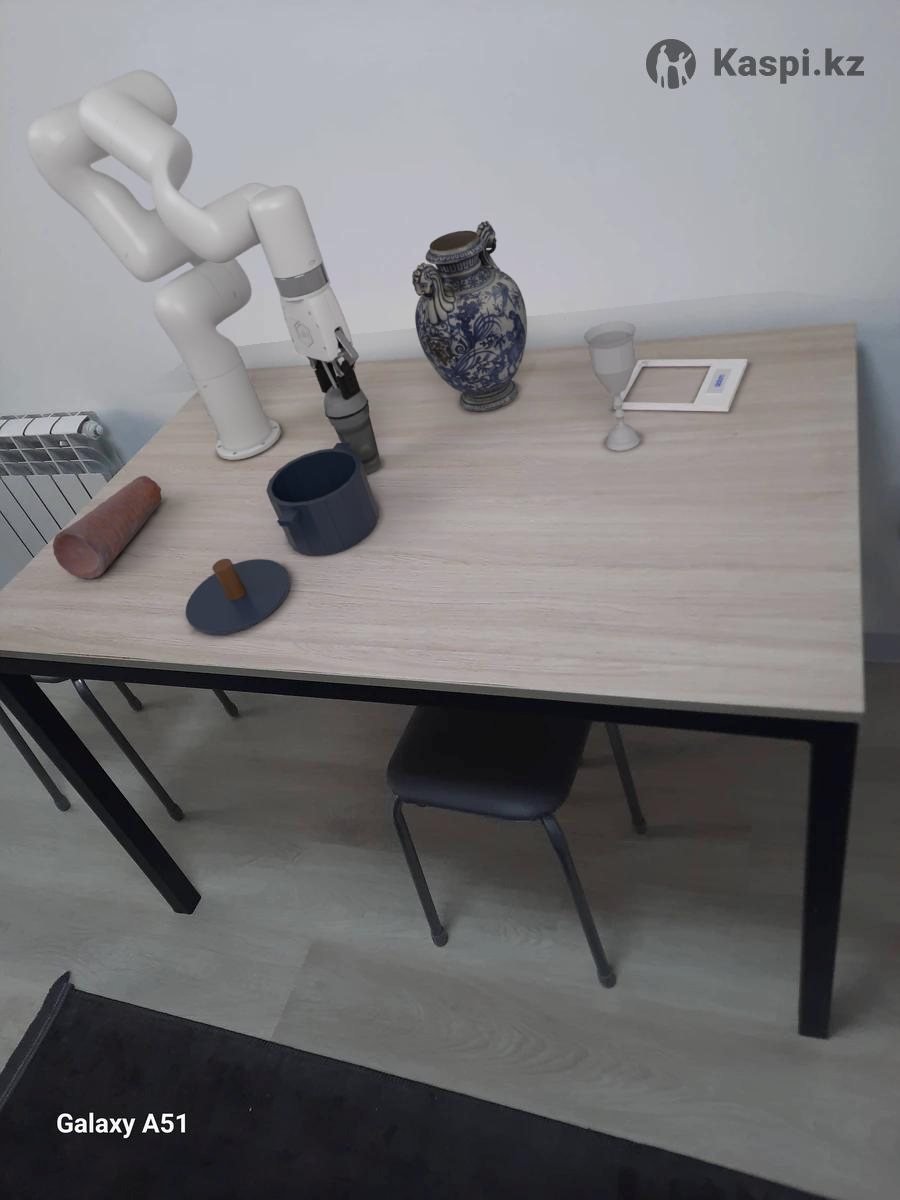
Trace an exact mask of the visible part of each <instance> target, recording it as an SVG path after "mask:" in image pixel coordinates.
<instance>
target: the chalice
mask: <svg viewBox="0 0 900 1200" xmlns="http://www.w3.org/2000/svg"><path fill="white" fill-rule="evenodd" d="M636 330H637V327H636V325H635V324H633V323H631V322H629V321H623V320H621V321H620V320H619V321H618V320H617V321H616V320H615V321H607V322H603V323H599V324H597V325H594V326H591V327H590V328H589V329H587V330H586V331H585V333H583V334H584V335H583V338H584V340H585V342H586V343H587V345H588V351H589V357H590V358H589V359H590V365H591V369H592V371H593V373H594V375H595V376H596V378H597V381H599V383H600V384H601V385H602V386H603V388H604V389H605V391H606V392H607V393H609V394H613V402H612V405H613V407H614V406H615V408H616V409H615V412H614V413H613V416H614V417H615V420H616V421H617V422H616V424H615V425H614V426H612V428H611V429H610V430H609V434H608V437H607V440H606V443H605V444H606V447H607V448H608V449H610V450H613V451H616V452H617V451H620V452H621V451H627V450H631V449H633V448H635V447H636V446H637V445H638V444H639V443H640V440H641V438H640V436H639V435H638V434H637V431H636V430H635V429H634V427H633V426H632V425H630V424H628V423H625V420H624V418H625V416H626V415H627V412H626V411H624V409H622V405H623V403H624V402H625V401H624V400H622V399H621V396H620V395H621V392H622V391H624V390H625V389H626V388H627V385H628V383H629V380H630V378H631V376H632V372H633V370H634V368H635V366H636V365H635V364H636V354H635V345H634V336H635V333H636Z"/></svg>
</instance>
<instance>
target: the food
mask: <svg viewBox="0 0 900 1200" xmlns="http://www.w3.org/2000/svg"><path fill="white" fill-rule="evenodd" d="M161 491H162V488H161V487H160V486H159V485H158V483H157V482H156V481H154V480H153V479H152V478H150V477H149V476H148V475H141V476H138V477H136V478H135V479H133V480H132V481H131V482H129V483H127V484H126V485H125V486H123V487H122V488H120V489H119V490H118V491H116V492H115V493H114V494H113V495H110V496H109V497H108V498H107V499H106V500H105V501H103V502H102V503H100V504H98V505H97V506H96V507H95V508H93V510H91V511H89V512H88V513H86V514H85V515H84V516H83V517H81V518H80V519H78V520H77V521H75V522H74V523H72V524H71V525H70V526H68V527H65V528H64V529H62V530H61V531H59V532H58V533H56V534H55V536H54V538H53V543H52V550H53V556H54V557H55V560H56V561H57V563H58V564H59V566H60V567H62V569H64V570H65V571H66V572H68V573H69V575H72V576H74V577H77V578H78V579H89V580H94V579H96V578H99V577H101V576H102V575H103V574H104V573H105V571H106V570H107V569H108V568H109V567H110V566H111V565H112V564H113V562H114V561H115V559H116V558H117V557H118V556H119V555H120V554H121V553H122V552H123V550H124V549H125V548H126V547H127V545H129V543H130V542H131V541H132V540H133V538H134V536H136V535H137V534H138V532H139V531H140V530H141V529H142V527H143V526H144V525H145V523H146V522H147V521H148V519H149V518H150V516H151V515H153V513H154V512H155V511H156V509H157V508H158V507H159V506H160V505H161V502H162V494H161Z"/></svg>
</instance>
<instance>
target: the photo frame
mask: <svg viewBox="0 0 900 1200" xmlns="http://www.w3.org/2000/svg"><path fill="white" fill-rule="evenodd" d="M635 364H636V365H634V368H633V372H632V376H631V378H630V380H629V383H628V385H627V388H626V389H625V390H624V391H622V392H621V395H620V396H621V399H622V400H623V401H624V400H625V398H626V397H627V395H628V393H629V391H630V389H631V388H632V386H633V384H634V382H635V380H637V379H636V378H637V377H638V375H639V373H640V372H641V370H642V369H643V367H709V369H708V371H707V373H706V376H705V377H704V380H703V382H702V385H701V386H700V389H699V390H698V393H697V395H696V397H695V399H694V401H693V402H692V403H691V402H690V403H688V402H634V401H633V402H632V401H630V402H629V401H628V402H627V401H624V403H623V405H622V409H623V410H631V411H632V410H637V411H644V410H645V411H678V412H679V411H681V412H682V411H685V412H726V413H727V412H729V410H730V408H731V406H732V403H733V401H734V398H735V396H736V393H737V391H738V388H739V386H740V384H741V381H742V378H743V377H744V374H745V371H746V369H747V367H748V358H704V359H703V358H700V359H699V358H695V359H694V358H692V359H691V358H690V359H689V358H687V359H686V358H685V359H683V358H682V359H680V358H679V359H677V358H675V359H639V360H638V361H637V362H636V363H635ZM613 409H614V410H616V408H615V406H614V405H613Z"/></svg>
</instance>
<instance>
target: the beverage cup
mask: <svg viewBox="0 0 900 1200" xmlns="http://www.w3.org/2000/svg"><path fill="white" fill-rule="evenodd" d="M321 362H322V364H323V366H324V368H325V370H326V372H327V374H328V376H329V378H330V380H331V382H332V384H333V385H332V386H331V387H330V388H329V389H328V391H327V392H326V393H325V396H324V399H323V408H324V414H325V417H326V418H327V420H328V421H329V423H330V424H331V426H332V427H333V429H334V431H335V433H336V435H337V437H338V440H339V442H340V443H350V445H351V447H352V448H351V449H350V451H351V452H353V453H355V454H357V455H358V457H359V459H360V460H361V462H362V465H363V468H364V471H365V473H366V475H369V474H372V473H375V472H376V471H377V470H378V469H380V468H381V464H382V463H381V459H380V452H379V449H378V444H377V440H376V436H375V432H374V427H373V424H372V419H371V416H370V413H371V412H370V406H369V400H368V399H369V398H368V397H367V395H365V392H364V391H363V389H361V387H360V392H359V393H357V394H356V395H354V396H353V397H351V398H349V399H348V400H345V399H343V396H342V394H341V391H340V388H339V385H338V383H335V381H334V379H333V377H332V375H331V373H330V371H329V369H328V367H327V365H326V363H325V361H321ZM333 387H334V388H333Z"/></svg>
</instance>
